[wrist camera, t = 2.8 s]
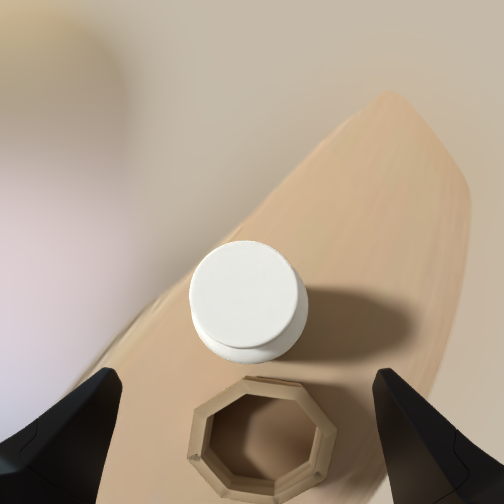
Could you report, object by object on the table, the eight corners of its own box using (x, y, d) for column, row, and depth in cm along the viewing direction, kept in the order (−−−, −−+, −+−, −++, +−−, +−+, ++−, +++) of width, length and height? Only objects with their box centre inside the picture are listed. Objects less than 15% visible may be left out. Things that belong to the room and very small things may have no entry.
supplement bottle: (219, 283, 20) (175, 224, 11) (295, 281, 20) (313, 219, 11) (218, 359, 18) (167, 364, 9) (297, 358, 18) (322, 365, 9)
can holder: (311, 488, 14) (316, 508, 11) (194, 471, 15) (182, 487, 12) (334, 385, 17) (345, 390, 14) (211, 368, 18) (200, 370, 15)
